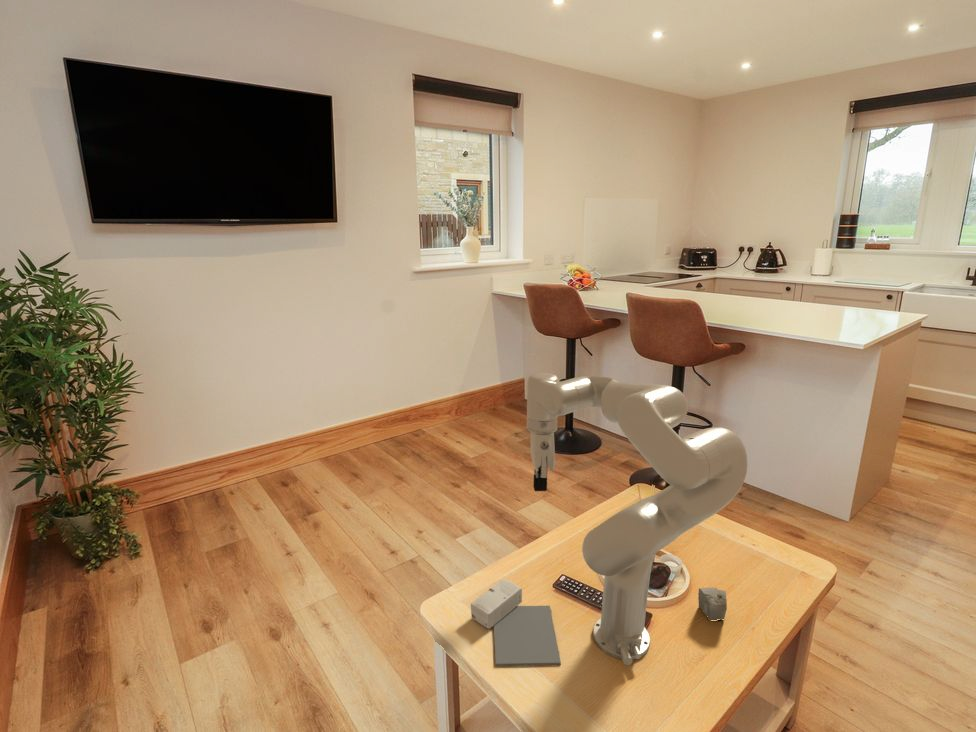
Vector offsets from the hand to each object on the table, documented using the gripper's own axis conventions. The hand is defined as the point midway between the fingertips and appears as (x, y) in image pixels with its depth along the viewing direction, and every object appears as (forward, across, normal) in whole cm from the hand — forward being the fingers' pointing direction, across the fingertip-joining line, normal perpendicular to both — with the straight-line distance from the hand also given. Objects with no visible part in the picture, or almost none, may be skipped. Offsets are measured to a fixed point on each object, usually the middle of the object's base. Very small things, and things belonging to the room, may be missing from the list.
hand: (540, 489), depth 134 cm
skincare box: (+23, -9, +8) cm, 26 cm away
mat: (+26, -21, +6) cm, 33 cm away
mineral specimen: (+26, -18, -40) cm, 51 cm away
